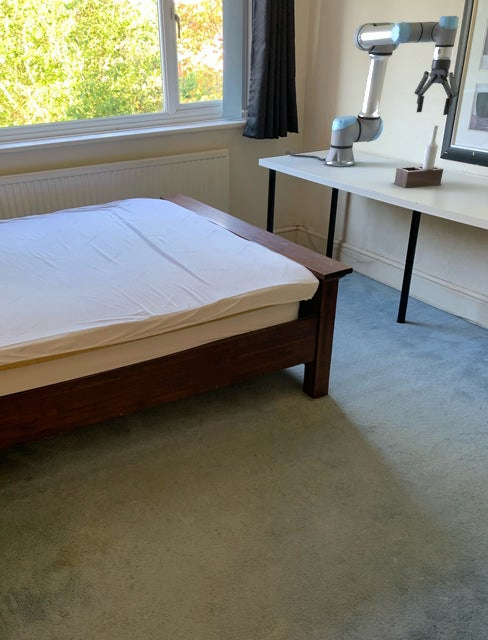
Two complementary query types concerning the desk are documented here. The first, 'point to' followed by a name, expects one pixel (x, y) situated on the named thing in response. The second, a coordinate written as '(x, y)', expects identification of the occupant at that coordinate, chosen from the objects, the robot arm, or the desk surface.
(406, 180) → the caddy
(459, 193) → the desk surface
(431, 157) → the bottle
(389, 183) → the desk surface
